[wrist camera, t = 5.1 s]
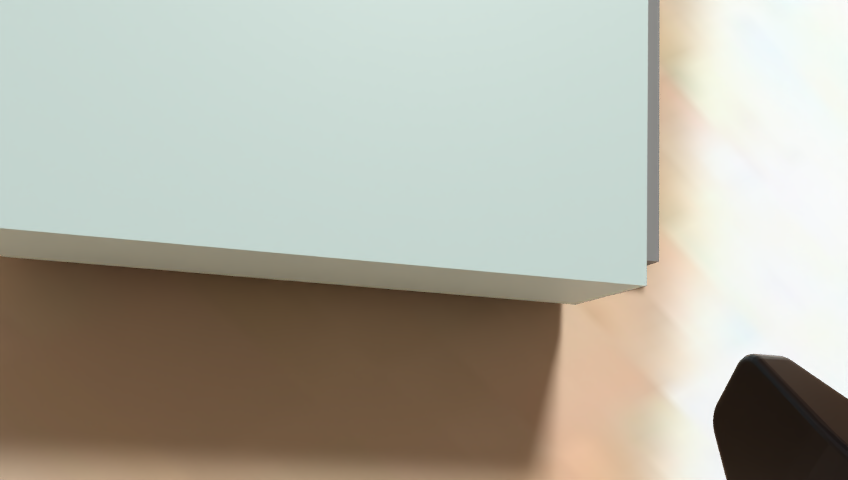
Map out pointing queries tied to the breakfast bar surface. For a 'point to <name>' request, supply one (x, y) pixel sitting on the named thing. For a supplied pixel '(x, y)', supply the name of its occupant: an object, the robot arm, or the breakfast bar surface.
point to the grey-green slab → (332, 141)
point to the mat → (653, 134)
